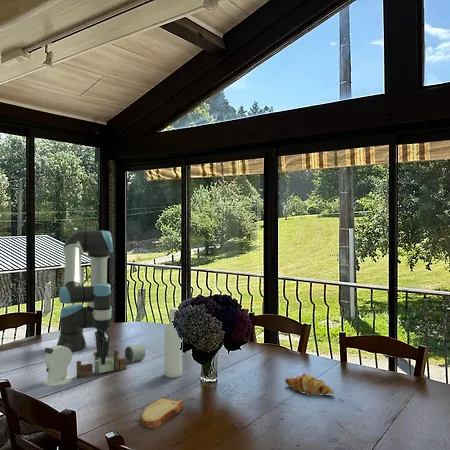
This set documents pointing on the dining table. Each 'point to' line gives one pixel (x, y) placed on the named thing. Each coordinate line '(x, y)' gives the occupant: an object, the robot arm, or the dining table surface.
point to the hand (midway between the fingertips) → (102, 371)
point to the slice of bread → (160, 412)
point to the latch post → (96, 356)
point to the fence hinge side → (119, 362)
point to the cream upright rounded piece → (58, 364)
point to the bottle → (172, 350)
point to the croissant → (309, 385)
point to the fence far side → (84, 370)
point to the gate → (108, 366)
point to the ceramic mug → (134, 353)
